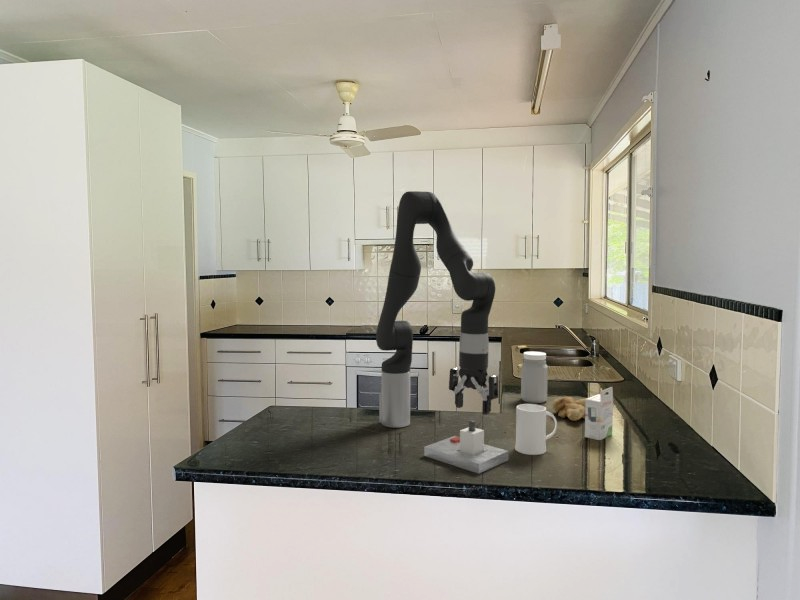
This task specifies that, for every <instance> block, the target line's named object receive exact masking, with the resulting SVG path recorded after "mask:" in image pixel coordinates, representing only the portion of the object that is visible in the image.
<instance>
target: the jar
mask: <svg viewBox="0 0 800 600" xmlns="http://www.w3.org/2000/svg"><path fill="white" fill-rule="evenodd" d="M546 359H547V353H546V352H543V351H532V350H531V351H524V352H523V363H521V377H520V379H521V383H520V398H521V400H522V401H523V402H525V403H528V404H542V403H544V402H546V401H547V400H548V375H549V373H548V371H549V369H548V368H549V366H548V364H547V361H546Z"/></svg>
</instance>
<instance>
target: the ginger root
mask: <svg viewBox="0 0 800 600" xmlns="http://www.w3.org/2000/svg"><path fill="white" fill-rule="evenodd" d="M587 398H588V397H585V398H580V399H576V400H575V399H574V397H572V396H562V397H559V398H556V399H554V400H553V403H552V410H554V411H556V412H558V414H557V415H558V417H560V418H562V419H564V418H568V419H569V420H570V421H574V422H575V421H578V420H580V419H585V399H587Z"/></svg>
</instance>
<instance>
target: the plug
mask: <svg viewBox="0 0 800 600" xmlns="http://www.w3.org/2000/svg"><path fill="white" fill-rule="evenodd" d="M476 422H477V421H476V420H475V419H474V420H473V419H471V420H470V419H469V421H468V427H466V428H463V429H460V430H459V437H460V452H462V453H465V454H469V455H472V456H476V455H479V454H481V453H483V452H484V444H485V430H484V429H481V428H477V427H476V426H477V425H476Z"/></svg>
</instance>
